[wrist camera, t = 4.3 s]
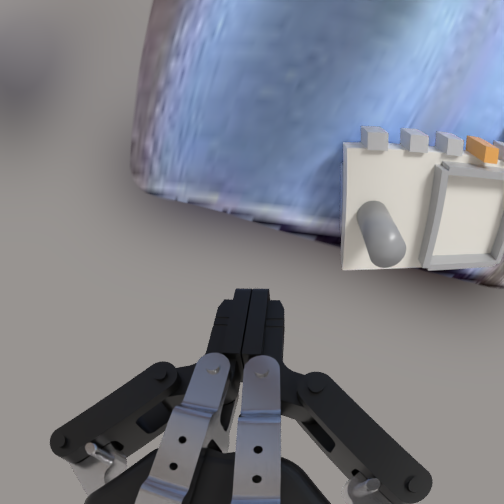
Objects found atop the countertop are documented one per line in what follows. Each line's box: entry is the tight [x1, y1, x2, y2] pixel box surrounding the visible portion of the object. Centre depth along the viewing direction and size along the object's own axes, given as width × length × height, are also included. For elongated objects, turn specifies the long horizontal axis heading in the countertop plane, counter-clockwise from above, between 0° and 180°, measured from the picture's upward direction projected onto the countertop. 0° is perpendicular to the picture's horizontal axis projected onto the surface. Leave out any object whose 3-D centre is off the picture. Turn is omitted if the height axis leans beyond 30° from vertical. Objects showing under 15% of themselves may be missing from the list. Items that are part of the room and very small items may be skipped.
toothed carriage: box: [340, 126, 504, 271], centre depth 17 cm, size 16×11×6 cm
